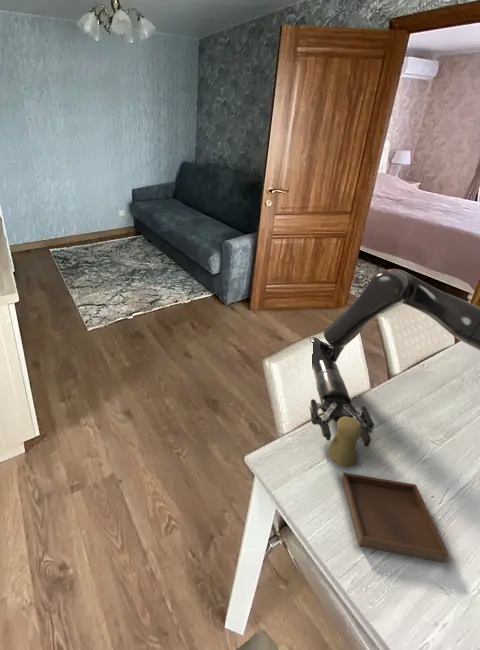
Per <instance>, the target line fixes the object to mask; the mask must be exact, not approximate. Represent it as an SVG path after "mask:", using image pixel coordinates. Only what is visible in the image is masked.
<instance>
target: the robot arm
mask: <svg viewBox="0 0 480 650" xmlns="http://www.w3.org/2000/svg"><path fill="white" fill-rule="evenodd" d="M399 304H403V305H406V306H409V307H411V308H414V309H415V310H417V311H420V312H421V313H423V314H425V315H426V316H429V317H430V318H431V319H432V320H434V322H436V323H437V324H438V325H440V327H442V328H443V329H444V330H445V331H446V332H448V333H449V334H450V335H452V336H453V337H454V338H456V339H458V340H459V341H461V342H462V343H464V344H467V346H470V347H471V348H474V349H476V350H477V351H479V352H480V306H479V305H476V304H474V303H472V302H469V301H466V300H464V299H462V298H460V297H457V296H454V295H452V294H449V293H447V292H444V291H442V290H440V289H437V288H436V287H434V286H432V285H430V284H428V283H427V282H425V281H423V280H421V279H419V278H417V277H416V276H414V275H412V274H410V273H408V272H406V271H405V270H402V269H397V268H389V269H386V270H382V271H380V272H378V273H376V274H375V275H373V276H372V278H371V279H370V281H369V282H368V283H367V285H366V286H365V287H364V289H363V290H362V292H361V293H360V295H358V297H357V298H356V300H354V302H353V303H352V304H351V305H350V306H349V307H348V308H347V309H346V310H345V311H344V312H343V313H342V314H340V315H339V316H338V317H337V318H336V319H335V320H334V321H333V322H332V323H331V324H330V325H329V326H328V327H327V328H326V329H325V330H324V332H323V337H324V339H325V341H324V342H326V343H324V342H322V341H323V340H322V341H320V340H321V339H320V338H318V337H315V336H311V337H312V338H314V339H312V340H310V341H311V342H312V343H313V354H312V368H311V369H312V371H313V374H314V378H315V385H316V390H317V393H318V396H319V401H320V402H317V400H316V399H314V398H312V399H311V400H310V403H309V411H310V419H311V423H312V424H313V425H318V426H319V427H320V431H321V433H322V436H323V438H324V439H325V440H326V441H328V442H329V441H331V438H332V433H331V428H330V425H329V424H330V422H332V421H333V422H335V423H337V421H338V420H339V419H340V418H341V417H344V416H346V417H351V418H353V419H354V420H356V421H357V422H358V423H359V425H360V427H361V434H360V439H361V441H362V444H363V446H364V447H366V448H367V447H369V445H371V441H372V437H371V434H372V433H373V430H374V427H375V423H374V421H373V419H372V417H371V415H370V413H369V411H368V408H367V407H366V406H363V405H362V406H361V407H360V408H358V407H355V406H354V405H353V403H352V399H351V397H350V394H349V392H348V389H347V387H346V383H345V381H344V379H343V377H342V375H341V372H340V370H339V367H338V364H337V361H338V359H339V357H340V356H341V353H342V352H343V351H344V348H346V346H347V345H349V343H351V342H352V341H353V340H354V339H356V337H357V336H358V335H360V333H361V332H362V331H363V330H364V329H365V327H366V326H367V325H368V324H369V323H370V322H371V321H372V320H373V319H374V318H376V317H377V316H378V315H380V314H381V313H383V312H384V311H386V310H389V309H390V308H392V307H393V306H395V305H399ZM309 338H310V337H309ZM310 339H311V338H310ZM319 339H320V340H319ZM327 343H328V344H327ZM329 344H330V345H329ZM320 410H321V411H322V412H323V413H324V414H323V415H322V416H320V415H319V411H320Z"/></svg>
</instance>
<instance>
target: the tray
mask: <svg viewBox="0 0 480 650" xmlns="http://www.w3.org/2000/svg"><path fill="white" fill-rule="evenodd" d="M341 483H342V487H343V491H344V495H345V499H346V502H347V506H348V509H349V513H350V518H351V521H352V525H353V529H354V532H355V537H356V540H357V544H358V547H363V548H367V549H372V550H377V551H382V552H387V553H392V554H398V555H401V556H407V557H412V558H418V559H422V560H426V561H427V560H428V561H433V562H437V563H443V564H445V563H446V561H447V560H448V558H449V552H448V551H447V549H446V547H445V544H444V543H443V541H442V538H441V537H440V533H439V532H438V529H437V526H436V525H435V523H434V521H433V518H432V516H431V513H430V512H429V509H428V507H427V506H426V505H427V504H426V503H425V501H424V498H423V497H422V495H421V492H420V490H419V488H418V486H417V484H415V483H409V482H403V481H397V480H392V479H391V480H390V479H385V478H379V477H373V476H367V475H360V474H357V473H355V474H354V473H349V472H343V473H342V475H341Z"/></svg>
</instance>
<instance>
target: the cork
mask: <svg viewBox="0 0 480 650" xmlns="http://www.w3.org/2000/svg"><path fill="white" fill-rule="evenodd" d="M360 426H361V425H359V423H358V422H357V421H356V420H354V419H353V418H351V417H346V416H344V417H341V418H340V419H339V420H338V421H337V422H336V433H335V435H334V437H333V438H332V440H331V442H330V444H329V447H328V450H327V452H328V455H329V457H330V459H331V460H332V461H333V462H334V463H335V464H337V465H339V466H341V467H345V468H349V467H352V466H354V464H355V462H356V451H357V440H358V439H359V438H361V435H360V434H361V427H360Z"/></svg>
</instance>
